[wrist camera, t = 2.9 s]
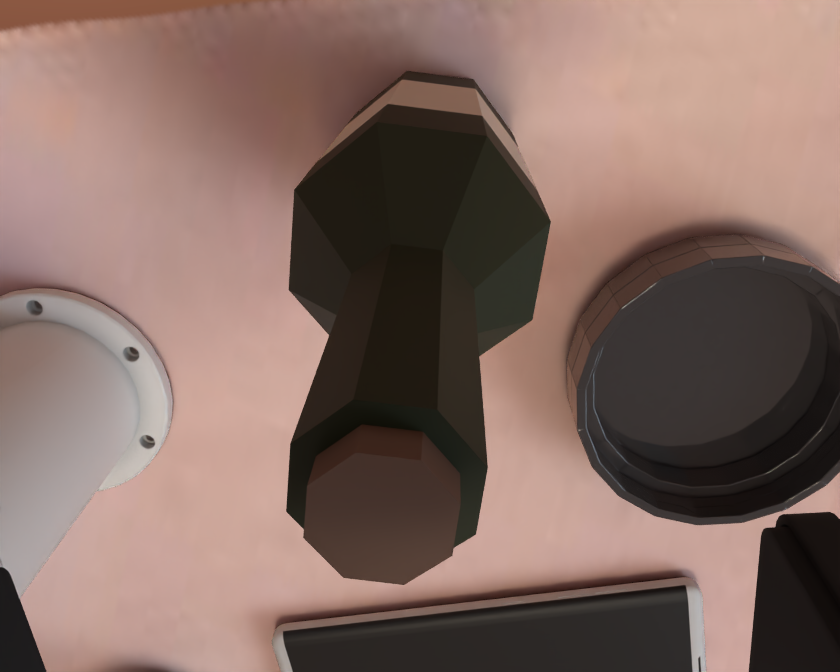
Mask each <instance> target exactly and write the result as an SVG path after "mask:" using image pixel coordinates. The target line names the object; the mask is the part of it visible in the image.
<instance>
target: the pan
mask: <svg viewBox="0 0 840 672" xmlns="http://www.w3.org/2000/svg"><path fill="white" fill-rule="evenodd" d="M567 394H568V400H569V404H570V407H571V411H572V414H573V418H574V421H575V424H576V428H577V431H578V434H579V436H580V439H581V441H582V444H583V446H584V449H585V451H586V454H587V456H588V459H589V461H590V464H591V466H592V468H593V469H594V470H595V471H596V472H597V473H598V474H599V475H600V476H601V477H602V479H603V480H604V481H605V482H606V483H607V484H608V485H609V486H610V487H611V488H612V490H613V491H614V492H615V493H616V494H617V495H618V496H619V497H621V498H623V499H625V500H627V501H628V502H630V503H632V504H634V505H636V506H637V507H639V508H641V509H643V510H645V511H646V512H648V513H650V514H652V515H654V516H656V517H661V518H666V519H670V520H675V521H680V522H684V523H689V524H694V525H711V524H731V523H744V522H747V521H750V520H753V519H757V518H760V517H763V516H766V515H770V514H773V513H776V512H779V511H783V510H786V509H788V508H790V507H791V506H793V505H795V504H796V503H798V502H800V501H801V500H803V499H805V498H806V497H808V496H810V495H811V494H813V493H815V492H816V491H818V490H819V489H821V488H823V487H824V486H826V484H828V483H829V482H830V481H831V480H832V479H833V478H834V477H835V476H836V475H837V474H838V473H839V472H840V283H839V282H838V281H837V280H835V279H834V278H833V277H831V276H830V275H828V274H827V273H826V272H824V271H823V270H822V269H820V268H819V267H818V266H816V265H814V264H813V263H811V262H810V261H808V260H807V259H805V258H804V257H802V256H801V255H799V254H797V253H796V252H794V251H793V250H791V249H790V248H788V247H787V246H785V245H783V244H780V243H776V242H771V241H767V240H763V239H759V238H755V237H750V236H746V235H742V234H729V235H716V236H703V237H692V238H687V239H685V240H682V241H679V242H677V243H674V244H671V245H669V246H666V247H664V248H661V249H658V250H656V251H653V252H650V253H648V254H646V255H644V256H642V257H641V258H640V259H638V260H637V261H636V262H634V263H633V264H632V265H630V266H629V267H628V268H626V269H625V270H624V271H622V272H621V273H620V274H618V275H617V276H616V277H614V278H613V279H612V280H610V281H609V282H608V284H606V285H605V286H604V287H603V289H602V290H601V291H600V293H599V294H598V295H597V297H596V298H595V299H594V301H593V302H592V304H591V305H590V306H589V308H588V309H587V310H586V312H585V313H584V314H583V316H582V317H581V320H580V321H579V324H578V327H577V330H576V333H575V336H574V339H573V342H572V345H571V348H570V351H569V354H568V357H567Z"/></svg>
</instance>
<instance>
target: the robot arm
mask: <svg viewBox="0 0 840 672" xmlns="http://www.w3.org/2000/svg"><path fill="white" fill-rule="evenodd" d="M39 303H40V304H39ZM133 347H134V348H135V349H136V350H137V351H136V350H134V348H133ZM172 405H173V400H172V394H171V388H170V382H169V379H168V377H167V374H166V371H165V369H164V366H163V363H162V362H161V360H160V358H159V357H158V355H157V353H156V352H155V350H154V348H153V347H152V345H151V344H150V343H149V342H148V340H147V339H146V338H145V337H144V336H143V335H142V334H141V332H140V331H139V330H138V329H137V328H136V327H135V326H134V325H132V324H131V323H130V322H129V321H128V320H126V319H125V318H124V317H123V316H121V315H120V314H119V313H117V312H116V311H114V310H112V309H110V308H109V307H107V306H105V305H104V304H102V303H100V302H98V301H96V300H93V299H90V298H88V297H85V296H83V295H80V294H78V293H73V292H68V291H63V290H59V289H44V288H32V289H25V290H19V291H13V292H10V293H7V294H5V295H2V296H0V672H46V669H45V666H44V664H43V661H42V658H41V656H40V653H39V650H38V648H37V645H36V642H35V639H34V637H33V634H32V631H31V629H30V626H29V623H28V621H27V618H26V615H25V612H24V610H23V607H22V604H21V602H20V598H21V596H22V595H23V594H24V592H25V591H26V589H27V588H28V587H29V585H30V584H31V582H32V581H33V580H34V578H35V577H36V575H37V574H38V573H39V571H40V570H41V568H42V567H43V566H44V564H45V563H46V561H47V560H48V559H49V557H50V556H51V554H52V553H53V552H54V550H55V549H56V547H57V546H58V545H59V543H60V542H61V540H62V539H63V538H64V536H65V535H66V533H67V532H68V531H69V529H70V528H71V526H72V525H73V524H74V522H75V521H76V519H77V518H78V517H79V515H80V514H81V512H82V511H83V510H84V508H85V507H86V505H87V504H88V503H89V501H90V500H91V498H92V497H93V496H94V494H95V493H96V492H97V491H103V490H106V489H109V488H112V487H116V486H119V485H121V484H123V483H125V482H126V481H128V480H130V479H132V478H134V477H135V476H137V475H138V474H139V473H140V472H141V471H142V470H143V469H145V468H146V467H147V466H148V465H149V464H150V462H151V461H152V460H153V458H154V457H155V455H156V454H157V453H158V451H159V450H160V448H161V446H162V444H163V442H164V441H165V439H166V437H167V435H168V431H169V427H170V424H171V420H172ZM749 672H840V519H839V518H838V517H837V516H836V515H835V514H833V513H831V512H821V513H802V514H783V515H781V516H779V518H778V520H777V522H776V527H775V528H765V529H764V530H763V532H762V535H761V543H760V554H759V565H758V576H757V587H756V598H755V609H754V620H753V631H752V642H751V653H750V664H749Z"/></svg>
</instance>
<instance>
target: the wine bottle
mask: <svg viewBox="0 0 840 672" xmlns="http://www.w3.org/2000/svg"><path fill="white" fill-rule="evenodd" d="M550 223H551V221H550V219H549V216H548V214H547V212H546V210H545V207H544V205H543V203H542V200H541V198H540V196H539V194H538V191H537V189H536V187H535V184H534V182H533V180H532V177H531V175H530V173H529V171H528V168H527V166H526V164H525V161H524V159H523V157H522V155H521V152H520V150H519V148H518V145H517V143H516V141H515V138H514V136H513V134H512V132H511V131H510V129H509V128H508V127H507V125H506V124H505V123H504V121H503V120H502V118H501V117H500V116H499V114H498V113H497V112H496V110H495V109H494V107H493V106H492V105H491V103H490V102H489V101H488V99H487V98H486V96H485V95H484V94H483V92H482V91H481V90H480V88H479V87H478V85H477V84H476V83H475V81H474V80H473V79H466V78H458V77H450V76H442V75H435V74H427V73H419V72H411V71H406V72H405V73H404V74H403V75H402V76H400V77H399V78H398V79H397V80H396V81H394V82H393V83H392V84H391V85H390V86H388V87H387V88H386V89H385V90H384V91H382V92H381V93H380V94H379V95H378V96H376V97H375V98H374V99H373V100H372V101H370V102H369V103H368V104H367V105H366V106H364V107H363V108H362V109H361V110H360V111H358V112H357V113H356V114H355V115H354V117H353V118H352V119H351V120H350V122H349V123H348V124H347V125H346V126H345V128H344V129H343V130H342V131H341V133H340V134H339V135H338V136H337V138H336V139H335V140H334V141H333V143H332V144H331V145H330V146H329V147H328V149H327V150H326V151H325V152H324V154H323V155H322V156H321V157H320V159H319V160H318V161H317V162H316V164H315V165H314V166H313V167H312V168H311V170H310V171H309V172H308V173H307V175H306V176H305V177H304V178H303V180H302V181H301V182H300V183H299V185H298V186H297V187H296V188H295V189H294V205H293V223H292V241H291V259H290V277H289V291H290V292H291V293H292V294H293V295H294V296H295V297H296V298H297V300H298V301H299V302H300V303H301V304H302V305H303V306H304V307H305V309H306V310H307V311H308V312H309V313H310V314H311V315H312V316H313V318H314V319H315V320H316V321H317V322H318V323H319V324H320V325H321V327H322V328H323V329H324V330H325V331H326V332H327V333H328V334H329V338H328V341H327V344H326V346H325V349H324V352H323V355H322V358H321V360H320V363H319V366H318V369H317V371H316V374H315V377H314V380H313V383H312V385H311V388H310V391H309V394H308V396H307V399H306V402H305V405H304V408H303V410H302V413H301V416H300V419H299V421H298V424H297V427H296V430H295V433H294V435H293V438H292V441H291V444H290V460H289V476H288V493H287V509H286V512H287V513H288V514H289V515H290V516H291V517H292V518H293V519H294V520H295V521H296V522H297V523H298V524H299V525H300V526H301V527H302V528H303V529H304V537H303V538H304V539H305V540H306V541H307V542H308V543H309V544H310V545H311V546H312V547H313V548H314V549H315V550H316V551H317V552H318V553H319V554H320V555H321V556H322V557H323V558H324V559H325V560H326V561H327V562H328V563H329V564H330V565H331V566H332V567H333V568H334V569H335V570H336V571H337V572H338V573H339V574H340V575H341V576H342V577H343V578H350V579H359V580H367V581H375V582H384V583H392V584H401V585H405V584H406V583H408V582H409V581H411V580H413V579H414V578H416V577H418V576H419V575H421V574H423V573H424V572H426V571H428V570H429V569H431V568H433V567H434V566H436V565H437V564H439V563H441V562H442V561H444V560H446V559H447V558H449V557H451V556H452V553H453V548H454V547H456V546H457V545H459V544H461V543H462V542H464V541H466V540H467V539H469V538H471V537H472V536H474V535H475V534H476V530H477V525H478V519H479V513H480V508H481V502H482V497H483V491H484V485H485V480H486V474H487V468H488V465H487V452H486V439H485V426H484V413H483V399H482V386H481V373H480V360H479V356H480V355H482V354H483V353H485V352H486V351H488V350H489V349H491V348H492V347H493V346H495V345H496V344H498V343H499V342H501V341H502V340H504V339H505V338H507V337H508V336H510V335H511V334H512V333H514V332H515V331H517V330H518V329H520V328H521V327H523V326H524V325H526V324H527V323H529V322H530V321H531V320H532V319H533V314H534V308H535V303H536V298H537V292H538V287H539V282H540V276H541V271H542V266H543V260H544V255H545V250H546V245H547V239H548V234H549V229H550Z"/></svg>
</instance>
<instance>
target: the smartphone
mask: <svg viewBox="0 0 840 672" xmlns="http://www.w3.org/2000/svg"><path fill="white" fill-rule="evenodd" d="M272 646H273V649H274V652H275V655H276V658H277V661H278V664H279V667H280V671H281V672H706V655H705V636H704V617H703V598H702V592H701V590H700V588H699V585H698V584H697V582H696V581H694V580H693V579H691V578H687V577H681V578H672V579H664V580H655V581H647V582H638V583H629V584H621V585H612V586H603V587H595V588H586V589H577V590H569V591H560V592H552V593H543V594H534V595H526V596H517V597H508V598H500V599H491V600H483V601H474V602H465V603H457V604H448V605H439V606H431V607H422V608H413V609H405V610H396V611H388V612H379V613H370V614H362V615H353V616H344V617H336V618H327V619H318V620H310V621H301V622H293V623H285V624H281V625H279V626H278V627H277V628H276V629H275V631H274V634H273V638H272Z"/></svg>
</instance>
